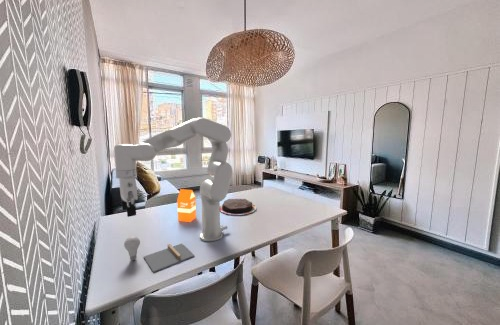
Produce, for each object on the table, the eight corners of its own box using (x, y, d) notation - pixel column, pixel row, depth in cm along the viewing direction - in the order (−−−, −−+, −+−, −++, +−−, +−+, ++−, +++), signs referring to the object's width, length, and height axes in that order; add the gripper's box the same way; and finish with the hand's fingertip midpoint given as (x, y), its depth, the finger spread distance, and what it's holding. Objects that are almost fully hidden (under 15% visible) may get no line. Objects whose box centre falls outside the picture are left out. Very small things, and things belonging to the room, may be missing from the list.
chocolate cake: (256, 216, 147) (256, 207, 146) (215, 216, 147) (215, 207, 146) (256, 203, 175) (256, 195, 174) (221, 203, 175) (221, 195, 174)
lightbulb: (132, 265, 92) (130, 241, 91) (122, 262, 94) (120, 238, 93) (144, 257, 98) (142, 235, 96) (134, 255, 100) (132, 232, 99)
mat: (181, 244, 110) (181, 243, 109) (194, 256, 99) (194, 255, 99) (143, 257, 98) (143, 256, 98) (153, 272, 87) (153, 271, 87)
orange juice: (190, 222, 137) (189, 191, 134) (178, 220, 139) (176, 190, 136) (196, 217, 145) (195, 188, 142) (184, 216, 146) (182, 187, 144)
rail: (170, 248, 106) (169, 243, 106) (180, 259, 96) (180, 255, 96) (167, 248, 105) (167, 244, 105) (178, 260, 96) (178, 256, 95)
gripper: (141, 175, 87) (144, 216, 89) (131, 169, 100) (133, 205, 102) (120, 177, 82) (123, 221, 84) (112, 171, 95) (115, 209, 97)
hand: (129, 212), depth 93 cm, fingers open, 9 cm apart
